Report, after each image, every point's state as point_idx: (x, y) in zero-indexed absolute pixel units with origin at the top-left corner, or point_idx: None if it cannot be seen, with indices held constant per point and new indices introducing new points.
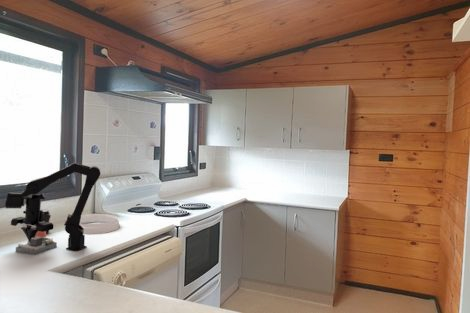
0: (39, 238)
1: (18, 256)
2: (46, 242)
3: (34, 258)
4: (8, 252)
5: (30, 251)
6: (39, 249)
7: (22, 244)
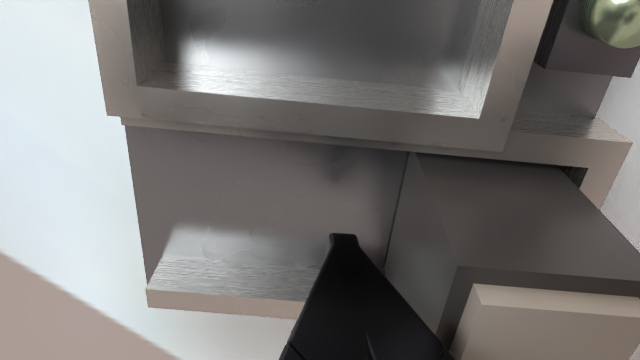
0: (614, 349)
1: None
2: (619, 45)
3: None
4: (114, 283)
5: None
6: None
7: (221, 296)
